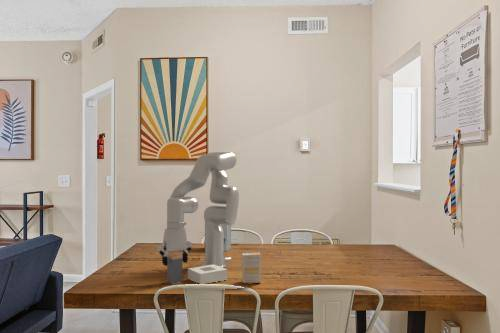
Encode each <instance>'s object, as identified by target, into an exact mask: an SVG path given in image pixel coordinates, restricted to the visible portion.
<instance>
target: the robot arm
mask: <svg viewBox="0 0 500 333" xmlns="http://www.w3.org/2000/svg"><path fill="white" fill-rule="evenodd" d="M236 165H237V156H236V155H235V153H234V152H231V151H213V152H209V153H205V154H201V155H199V157H198V158H197V159H196V162H195V163H194V166H193V167H192V170H191V172H190V174H189V176H188V177H187V178H185V179H184V180H182V181H181V182H180V183H179V184H178V185H176V187H175V188H174V189H173V191H172V193H171V195H170V197H169V198H168V199H167V200H166V201H167V202H166V228H165V229H164V232H163V239H162V240H163V241H162V243H161V244H159V245H158V246H156V250H157V251H158V253H159V254H160V255H161V256H162V260H161V261H162V264H163V266H166V267H167V255H169V253H172V252H180V251H182V263H188V260H189V259H188V258H189V256H188V254H190V251H191V250H192V247H193V245H194V243H193V242H190V241H188V240H187V233H186V231H187V230H186V228H185V226H186V225H187V222H185V220H184V219H185V214H193V213H196V211H197V210H198V208H199V201H198V200H197V199H196V197H191V196H186V195H187V194H188V193H191V192H192V191H195V190H197V189H200V188H202V187H204V186H205V184H206V183H207V180H208V178H209V176H210V174H211V183H210V191H209V200H210V202H211V203H213V204H217V205H210V206H207V207H206V208H205V209H204V211H203V219H204V228H205V227H206V249H205V261H204V263H202V265H201V266H207V265H213V264H214V265H217V266H219V267H222V268H226V267H227V262H231V261H232V257H227V256H226V257H225V256H224V255H225V254H224V253H225V251H224V232H223V229H222V227H221V225H231V226H232V225H234V224H235V223H236V221H237V216H238V208H239V201H240V194H239V191H238V188H237V187H235V186H233V185H232V186H230V185H228V180H229V179H228V178H229V176H228V174H227V172H226V171H227V170H231V169H233V168H234V167H235V166H236ZM219 204H220V205H222V206H220V205H219ZM223 205H225V206H223Z"/></svg>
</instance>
